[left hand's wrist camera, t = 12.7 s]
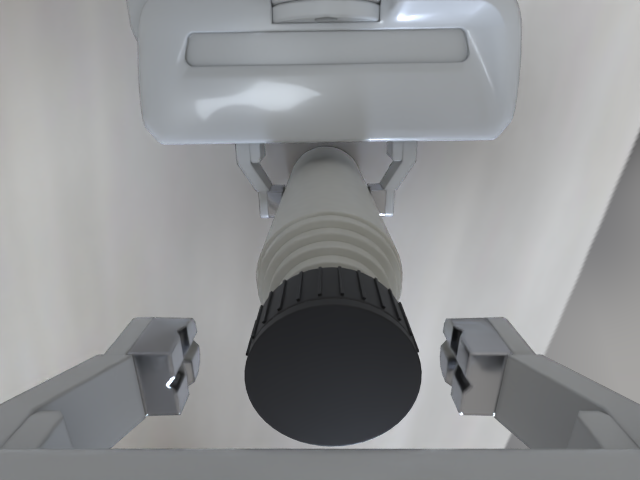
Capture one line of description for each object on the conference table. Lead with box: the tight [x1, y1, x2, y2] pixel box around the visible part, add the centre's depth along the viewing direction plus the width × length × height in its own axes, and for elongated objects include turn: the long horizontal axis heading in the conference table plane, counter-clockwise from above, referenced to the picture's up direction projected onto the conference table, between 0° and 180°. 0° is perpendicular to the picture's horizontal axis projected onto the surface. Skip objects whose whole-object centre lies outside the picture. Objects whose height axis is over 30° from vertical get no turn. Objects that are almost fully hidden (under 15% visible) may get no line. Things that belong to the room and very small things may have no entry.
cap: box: [245, 266, 422, 446], centre depth 10 cm, size 4×4×2 cm
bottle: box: [256, 146, 402, 305], centre depth 19 cm, size 5×5×21 cm
